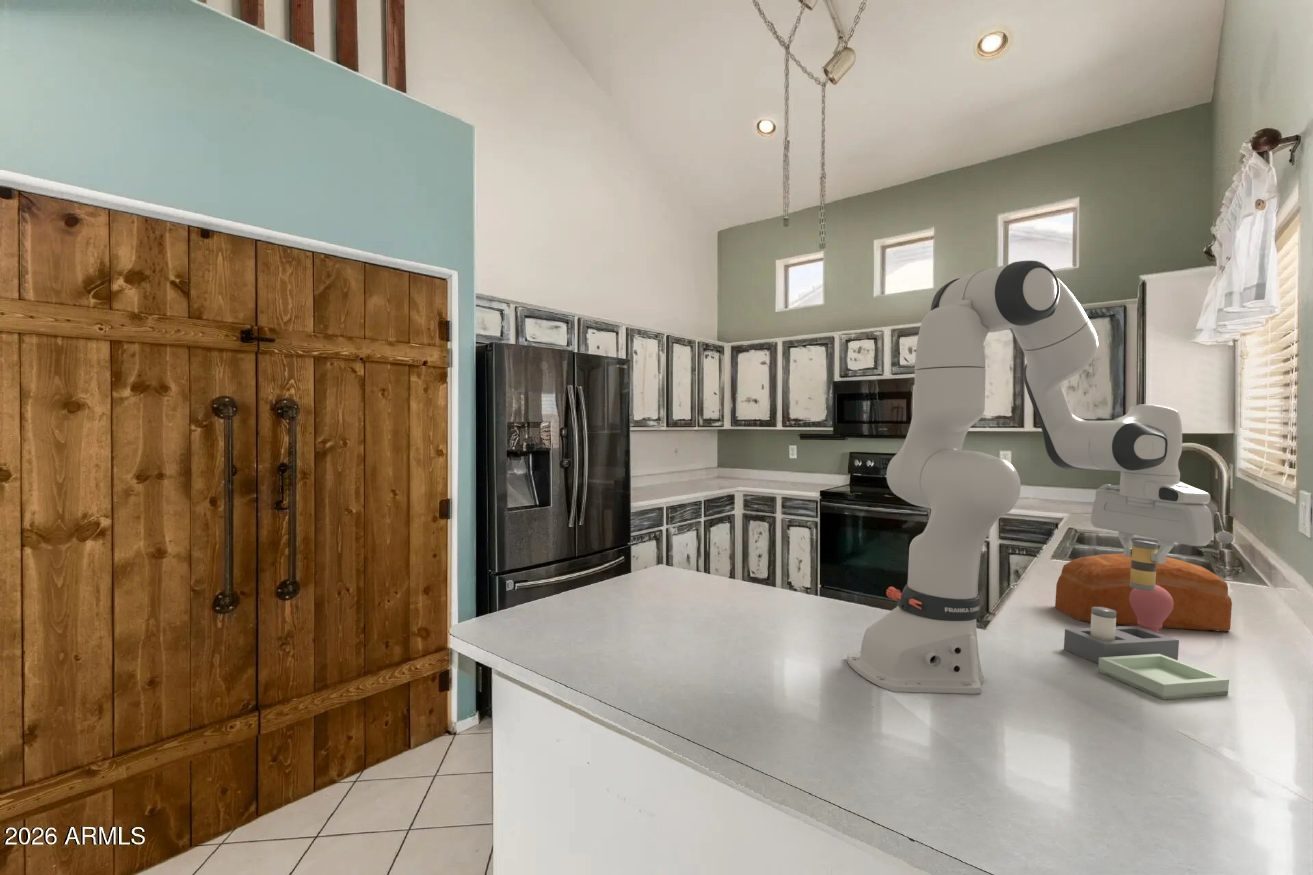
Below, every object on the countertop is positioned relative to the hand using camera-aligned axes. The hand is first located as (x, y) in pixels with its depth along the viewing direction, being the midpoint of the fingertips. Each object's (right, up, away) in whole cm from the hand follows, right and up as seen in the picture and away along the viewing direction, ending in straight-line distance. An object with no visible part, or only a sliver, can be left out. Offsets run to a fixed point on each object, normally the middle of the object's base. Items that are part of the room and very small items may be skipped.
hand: (1143, 559), depth 114 cm
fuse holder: (-4, -19, 0) cm, 19 cm away
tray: (-7, -19, -12) cm, 24 cm away
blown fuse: (0, -6, 0) cm, 6 cm away
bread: (+19, -19, +24) cm, 36 cm away
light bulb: (+8, -19, +9) cm, 23 cm away
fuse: (-9, -19, -1) cm, 21 cm away
